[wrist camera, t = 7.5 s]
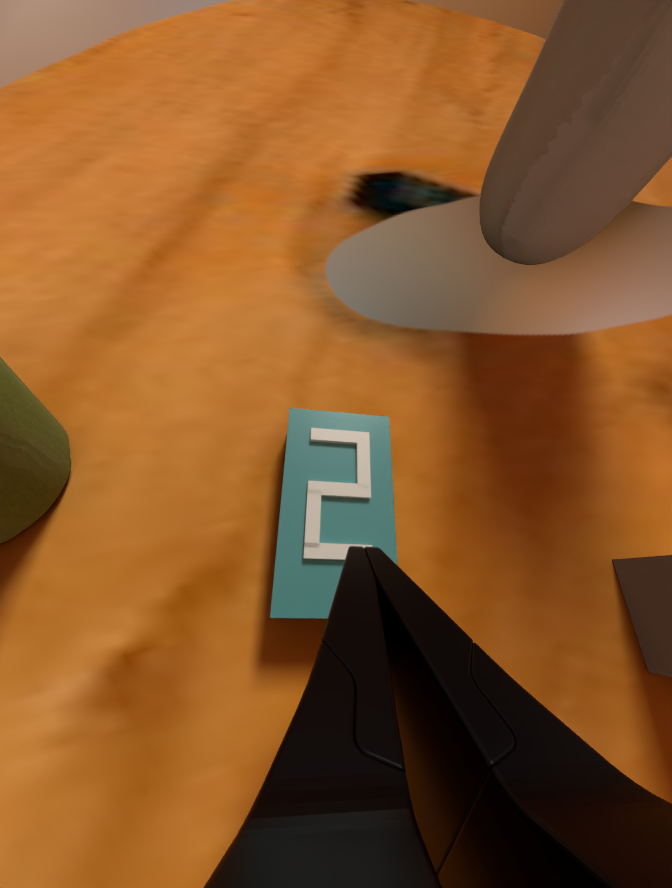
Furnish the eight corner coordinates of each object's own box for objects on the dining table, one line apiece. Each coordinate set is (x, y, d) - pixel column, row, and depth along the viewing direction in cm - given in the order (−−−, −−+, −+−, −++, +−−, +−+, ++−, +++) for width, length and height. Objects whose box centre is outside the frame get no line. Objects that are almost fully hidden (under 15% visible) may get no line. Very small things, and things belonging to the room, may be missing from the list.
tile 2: (402, 619, 12) (390, 414, 16) (269, 618, 11) (289, 405, 15) (384, 614, 14) (377, 435, 18) (272, 613, 14) (289, 428, 17)
